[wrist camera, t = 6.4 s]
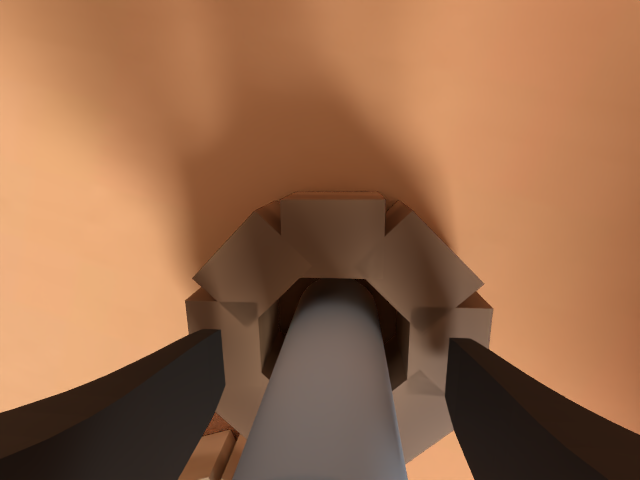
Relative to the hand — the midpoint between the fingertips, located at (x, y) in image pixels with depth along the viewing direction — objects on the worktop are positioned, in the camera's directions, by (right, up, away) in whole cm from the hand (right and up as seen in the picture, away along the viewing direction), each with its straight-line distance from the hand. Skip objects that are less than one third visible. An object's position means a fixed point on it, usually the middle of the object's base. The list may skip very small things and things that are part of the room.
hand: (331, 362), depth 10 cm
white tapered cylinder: (0, +1, +4) cm, 4 cm away
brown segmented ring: (0, +1, +4) cm, 4 cm away
